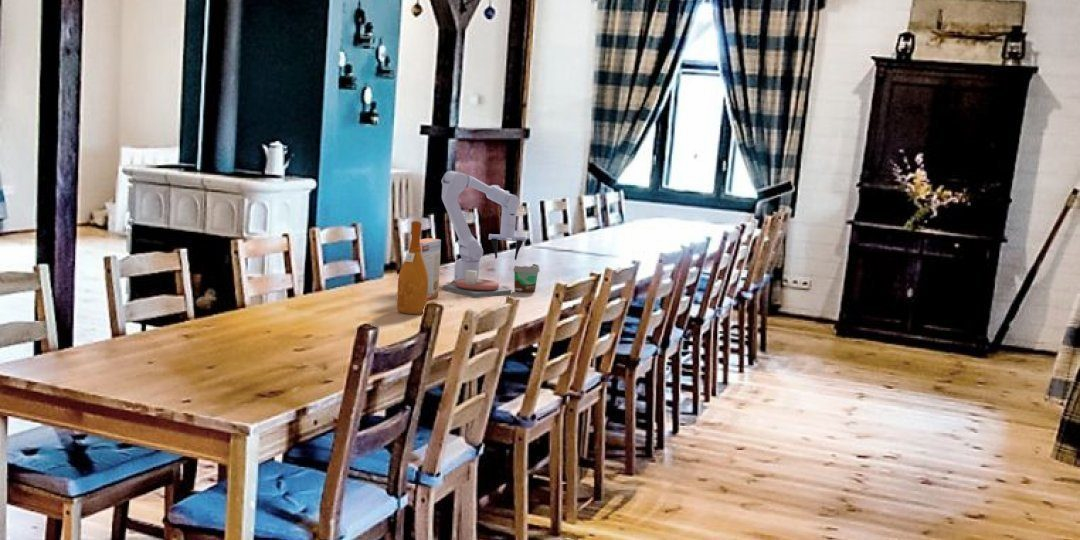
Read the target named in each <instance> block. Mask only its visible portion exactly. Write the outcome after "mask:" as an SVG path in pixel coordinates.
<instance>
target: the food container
mask: <svg viewBox="0 0 1080 540" xmlns="http://www.w3.org/2000/svg"><path fill="white" fill-rule="evenodd" d="M513 272H514V276H513V277H514V279H513V280H514V293H520V294H533V293H535V292H536V288H537V287H536V286H537V281H538V276H539V275H538V273H540V272H541V271H540V267H539V264H536V263H532V266H531V265H529V266H528V265H527V266H526V265H523V266H519V265H514V268H513Z"/></svg>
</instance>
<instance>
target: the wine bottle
mask: <svg viewBox="0 0 1080 540" xmlns="http://www.w3.org/2000/svg"><path fill="white" fill-rule="evenodd" d="M410 226H411V231H410V235H411V241H410V242H411V246H410V248H409V247H408V251H407V252H406V254H405V256H404V261H403V263H402V265H401V267H400V270H399V274H398V280H397V297H396V302H397V303H396V306H397V307H396V308H397V311H398V312H399V313H400V314H401V313H402V314H406V315H422V314H423V313H422V312H423V309H424V306H425V304H426V303H427V302H428V300H427V295H428V273H427V269H426V265H425V263H424V260H423V257H422V254H421V248H420V240H421V238H420V237H421V235H422V222H420V221H418V220H413V221H411V223H410Z"/></svg>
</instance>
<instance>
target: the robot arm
mask: <svg viewBox="0 0 1080 540" xmlns="http://www.w3.org/2000/svg"><path fill="white" fill-rule="evenodd" d="M441 185H442V186H441V187H442V188H441V200H442V203H443V205H444V207H445V210H446V213H447V214H448V217H449V218H450V222H451V224H452V227H453V228H454V232H455V234H456V236H457V238H458V241H457V246H458V253H459V255H460V258H458V259H457V260H456V262H455V263H454V274H453V275H454V277H453V279H452V282H455V283H456V280H459V279H466V270H475V271H477V279H480V278H479V277H480V276H479V275H480V262H481V261H480V260H481V259H482V258H483V255H484V249H483V247H482V245H480V243H478V241H477V240H476V238H475V236H473V234H472V232H471V229H470V227H469V225H468V222H467V220H466V218H465V215H464V213H463V211H462V208H461V205H460V204H459V201H458V198H459V195H460V194H461V193H462V192H463V191H464V190H465V189H466V188H472V189H475V190H477V191H478V192H481V193H484V194H485V195H486V198H487V199H488V200H491V201H492V202H495V203H496V204H498V205H500V206H501V215H500V217H501V221H500V233H499V234H498V233H497V234H494V233H493V234H492V233H489V234H488V240H490V241H491V245H492V247H493V251H494V259H498V243H499V241H509V242H515V254H514V260H515V261H517V258H518V255H519V252H520V249H521V247H522V245H523V243H526V241H527V239H526V238H527V236H521V235H515V234H516V222H517V212H518V208H519V207H520V205H521V202H520V199H519V197H518V196H517V195H516V194H512V193H510V191H509V190H507V189H506V190H504V189H503V188H501V186H500V185H498V184H491V185H488V184H486V183H485V182H483V181H481V180H479V179H477V178H476V177H474V176H472V175H469V174H466V173H463V172H457V171H454V170H447V171H446V172H445V173H444V175H443V176H442V178H441Z"/></svg>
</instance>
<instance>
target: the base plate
mask: <svg viewBox="0 0 1080 540" xmlns="http://www.w3.org/2000/svg"><path fill="white" fill-rule="evenodd" d="M442 290H444V291H447V292H452V293H456V294H461V295H463V296H468V297H471V298H475V299H476V298H485V297H495V296H505V295H507V294H508V295H512V289H509V288H505V287H504V288H503V287H500V286H499V288H498V289H495V290H471V289H464V288H460V287H457V286H456V283H453V284H452V283H450V284H443V285H442ZM508 295H507V296H508Z"/></svg>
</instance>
